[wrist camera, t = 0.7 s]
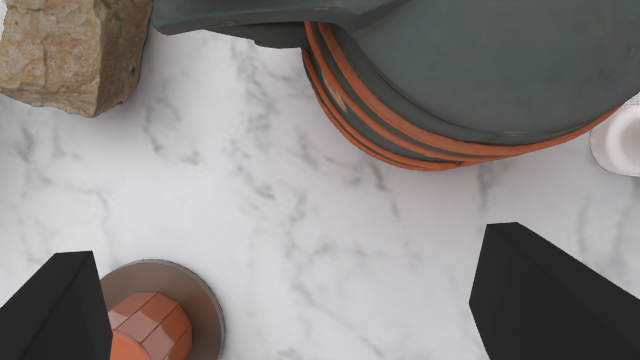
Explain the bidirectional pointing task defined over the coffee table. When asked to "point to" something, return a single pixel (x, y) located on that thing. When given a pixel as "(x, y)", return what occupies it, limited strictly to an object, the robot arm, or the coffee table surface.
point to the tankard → (444, 68)
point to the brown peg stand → (179, 288)
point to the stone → (73, 52)
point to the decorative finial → (618, 141)
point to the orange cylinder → (149, 328)
